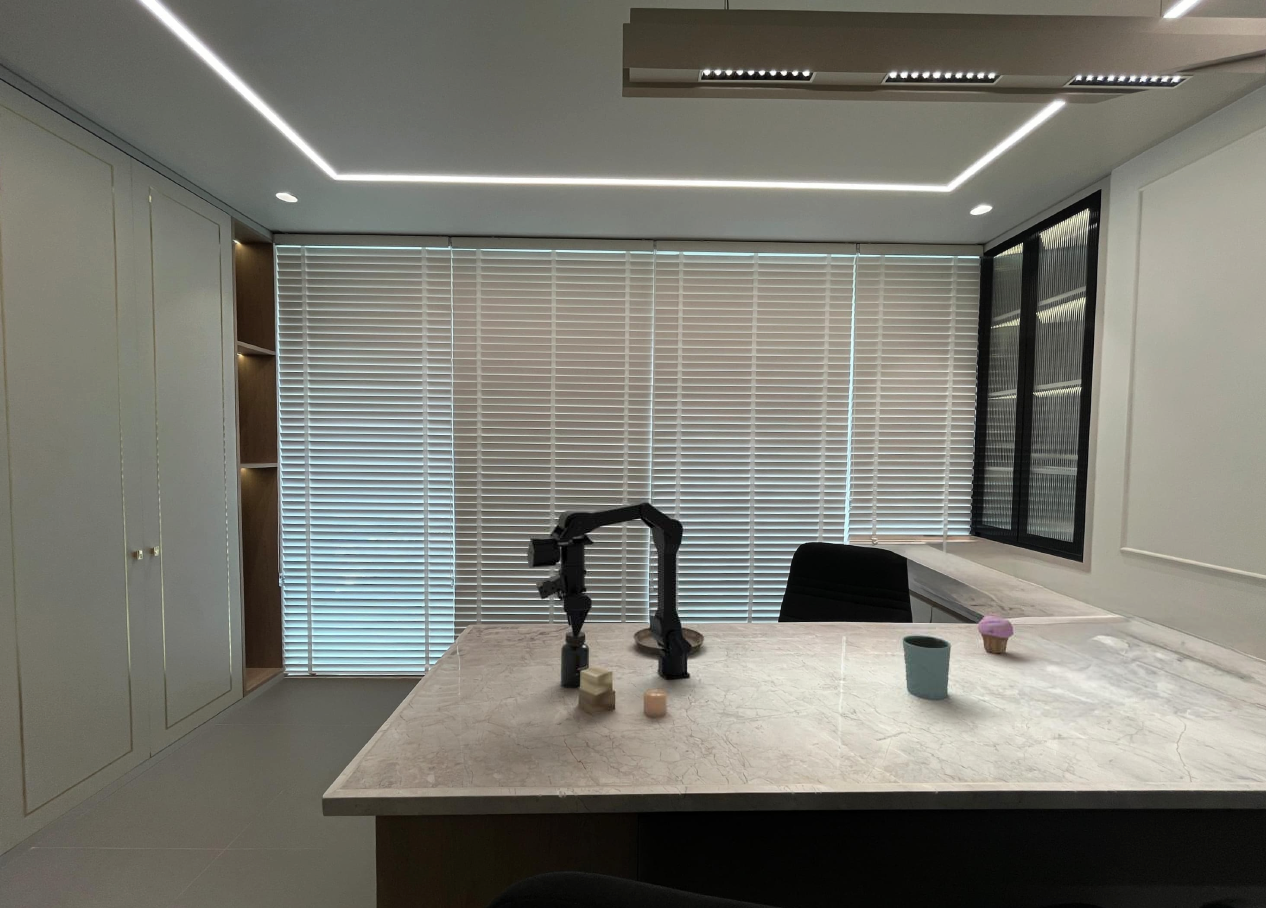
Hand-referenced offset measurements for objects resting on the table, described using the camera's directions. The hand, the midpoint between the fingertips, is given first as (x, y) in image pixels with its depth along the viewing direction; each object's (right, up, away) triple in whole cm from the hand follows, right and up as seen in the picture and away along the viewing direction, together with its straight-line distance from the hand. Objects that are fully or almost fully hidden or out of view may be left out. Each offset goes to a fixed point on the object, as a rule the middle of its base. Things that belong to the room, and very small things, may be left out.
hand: (573, 630), depth 139 cm
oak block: (+6, -10, -9) cm, 15 cm away
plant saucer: (+25, -15, +33) cm, 44 cm away
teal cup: (+83, -15, 0) cm, 84 cm away
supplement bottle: (0, -14, +5) cm, 15 cm away
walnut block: (+6, -14, -9) cm, 18 cm away
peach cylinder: (+19, -14, -11) cm, 26 cm away
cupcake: (+118, -15, +30) cm, 122 cm away
